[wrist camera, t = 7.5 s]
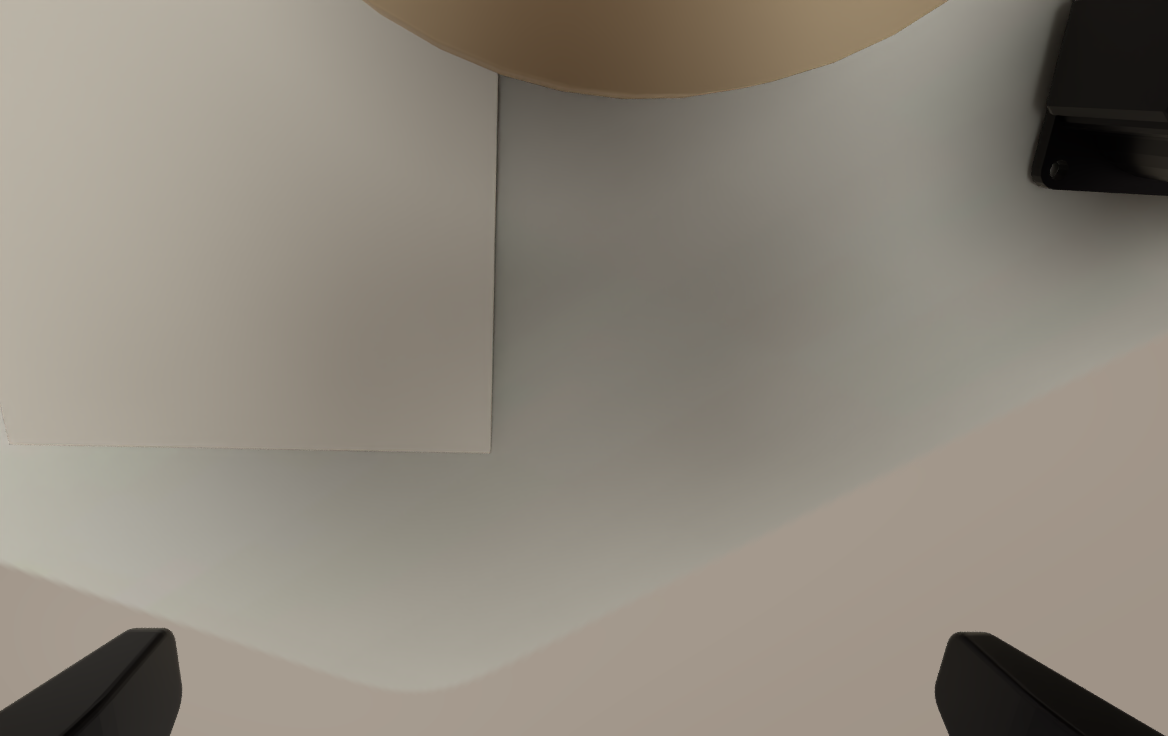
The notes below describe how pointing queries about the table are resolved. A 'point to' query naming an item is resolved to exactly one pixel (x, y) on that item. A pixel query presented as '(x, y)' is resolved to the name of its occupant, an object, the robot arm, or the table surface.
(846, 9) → the lid
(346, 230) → the mat
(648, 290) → the table surface
